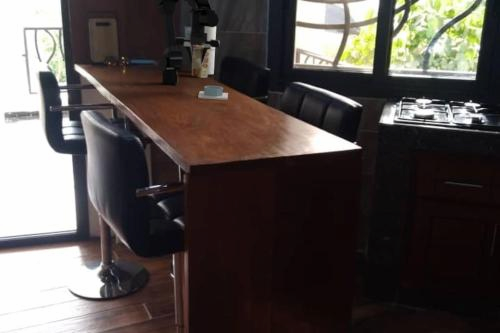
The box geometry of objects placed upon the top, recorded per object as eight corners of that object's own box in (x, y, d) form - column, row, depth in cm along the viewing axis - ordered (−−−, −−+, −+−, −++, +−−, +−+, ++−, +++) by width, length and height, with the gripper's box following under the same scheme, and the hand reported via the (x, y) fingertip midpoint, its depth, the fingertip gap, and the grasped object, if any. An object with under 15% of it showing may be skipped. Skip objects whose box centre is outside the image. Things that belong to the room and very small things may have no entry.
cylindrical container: (211, 74, 290) (214, 25, 283) (198, 73, 292) (200, 24, 284) (215, 73, 297) (217, 25, 290) (202, 71, 298) (204, 24, 291)
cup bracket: (197, 98, 226) (198, 88, 224) (199, 92, 237) (200, 84, 236) (227, 100, 226) (227, 90, 225) (227, 94, 238) (228, 86, 236)
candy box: (208, 78, 279) (209, 47, 274) (201, 78, 276) (202, 47, 272) (198, 75, 285) (199, 45, 281) (191, 75, 283) (192, 45, 278)
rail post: (191, 68, 234) (192, 49, 231) (192, 67, 238) (192, 48, 235) (200, 68, 234) (201, 49, 232) (201, 67, 238) (202, 48, 235)
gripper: (173, 24, 223) (172, 64, 227) (219, 27, 223) (218, 66, 228) (176, 23, 233) (175, 60, 238) (220, 26, 234) (218, 63, 239)
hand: (196, 63), depth 235 cm, fingers closed on rail post, 4 cm apart
